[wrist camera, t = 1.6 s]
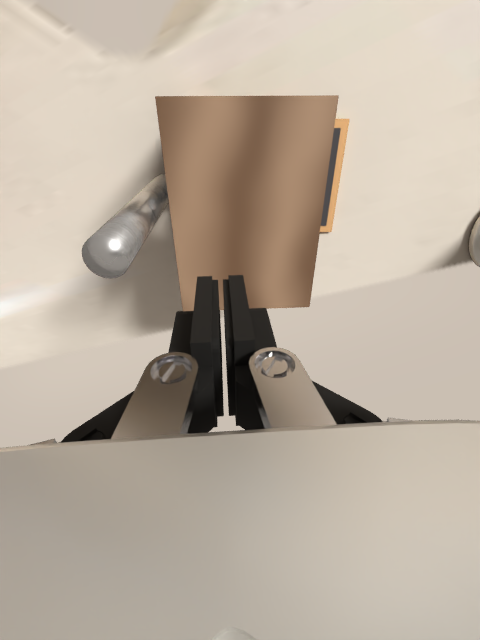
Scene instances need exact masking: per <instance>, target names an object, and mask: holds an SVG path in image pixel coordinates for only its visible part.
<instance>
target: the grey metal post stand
mask: <svg viewBox="0 0 480 640" xmlns="http://www.w3.org/2000/svg"><path fill="white" fill-rule="evenodd" d="M168 202H169V199H168V191H167V184H166V176H165V174H160V175H158V176H156V177H155V178H154V179H153V180H152V181H151V182H150V183H149V184H148V185H147V186H145V187H144V188H143V189H142V190H141V191H140V192H139V193H138V194H137V195H136V196H135V197H134V198H132V199H131V200H130V201H129V202H128V203H127V204H126V205H125V206H124V207H123V208H122V209H120V210H119V211H118V212H117V213H116V214H115V215H114V216H113V217H112V218H111V219H110V220H109V221H107V222H106V223H105V224H104V225H103V226H102V227H101V228H100V229H99V230H98V231H97V232H96V233H94V234H93V235H92V236H91V237H90V238H89V239H88V240H87V241H86V242H85V243H84V245H83V248H82V257H83V260H84V262H85V264H86V266H87V267H88V268H89V269H90V270H91V271H92V272H93V273H95V274H96V275H99V276H101V277H104V278H116V277H119V276H121V275H123V274H124V273H125V272H126V270H127V269H128V267H129V266H130V264H131V262H132V261H133V259H134V257H135V256H136V254H137V253H138V251H139V249H140V248H141V246H142V244H143V243H144V241H145V239H146V238H147V236H148V235H149V233H150V231H151V230H152V228H153V226H154V225H155V223H156V221H157V220H158V218H159V217H160V215H161V213H162V212H163V210H164V208H165V207H166V205H167V203H168Z"/></svg>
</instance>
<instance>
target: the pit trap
mask: <svg viewBox="0 0 480 640" xmlns="http://www.w3.org/2000/svg"><path fill="white" fill-rule="evenodd" d="M348 125H349V119H335V125H334V132H333V140H332V147H331V154H330V161H329V168H328V176H327V183H326V190H325V197H324V205H323V212H322V219H321V226H320V232H331V231H332V225H333V219H334V212H335V206H336V200H337V194H338V187H339V181H340V175H341V169H342V162H343V156H344V150H345V144H346V137H347V131H348Z"/></svg>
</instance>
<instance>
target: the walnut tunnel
mask: <svg viewBox="0 0 480 640" xmlns="http://www.w3.org/2000/svg"><path fill="white" fill-rule="evenodd" d="M155 99H156V106H157V114H158V122H159V130H160V137H161V145H162V153H163V161H164V168H165V176H166V184H167V191H168V199H169V207H170V215H171V222H172V230H173V238H174V245H175V253H176V261H177V269H178V276H179V284H180V292H181V299H182V307H183V311H194V302H195V292H196V283H197V276H212V280H218V288H219V307H220V310H224V297H223V279H228V275H243V277H244V283H245V288H246V294H247V299H248V305H249V308H294V307H309V306H310V298H311V291H312V284H313V277H314V270H315V262H316V255H317V248H318V241H319V233H320V226H321V219H322V212H323V205H324V197H325V190H326V183H327V176H328V168H329V161H330V154H331V147H332V140H333V132H334V125H335V118H336V111H337V103H338V96H157V97H155Z"/></svg>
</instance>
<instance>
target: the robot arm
mask: <svg viewBox="0 0 480 640" xmlns="http://www.w3.org/2000/svg"><path fill="white" fill-rule="evenodd" d="M469 252H470V256H471V258H472V260H473V262H474V263H475V264H476V265H477V266H479V267H480V216H479V217H478V219H477V220H476V222H475V225H474V227H473V229H472V232H471V235H470V239H469ZM223 297H224V321H225V341H226V342H225V343H226V362H227V363H226V365H227V384H228V406H229V416H233V415H235V417H236V426H241V427H242V428H244V429H245V430H240V431H224V432H210V433H208V432H209V431H210V430H211V429H212V428H213V427H217V416H223V415H224V413H223V381H222V350H221V349H222V348H221V329H220V328H221V327H220V307H219V288H218V280H212V276H197V283H196V292H195V302H194V311H178V312H177V313H176V317H175V322H174V327H173V332H172V338H171V343H170V348H169V353H166V354H162V355H160V356H158V357H156V358H155V359H153V360H152V361H151V362H150V363H149V364H148V365H147V367H146V368H145V370H144V373H143V374H142V376H141V378H140V381H139V383H138V385H137V387H136V389H135V391H133V392H132V393H130V394H129V395H127V396H126V397H124V398H122V399H121V400H119V401H118V402H116V403H115V404H113V405H112V406H110V407H109V408H107V409H105V410H104V411H103V412H101V413H99V414H98V415H96V416H95V417H93V418H92V419H90V420H88V421H87V422H85V423H84V424H82V425H81V426H79V427H78V428H76V429H75V430H73V431H72V432H71V433H69V434H68V435H67V436H66V437H65V438H64V439H63V440H62V441H61V442H58V443H57V442H56V441H55V439H51V440H47V441H43V442H40V443H36V444H31V445H27V446H16V447H6V448H0V640H480V421H471V420H421V421H420V420H419V421H411V420H403V419H395V418H388V419H387V422H386V421H382V420H381V419H380V418H378V417H377V416H376V415H374V414H373V413H371V412H370V411H368V410H366V409H364V408H362V407H361V406H359V405H357V404H355V403H353V402H351V401H349V400H347V399H345V398H344V397H342V396H340V395H338V394H336V393H334V392H332V391H330V390H328V389H327V388H325V387H323V386H321V385H319V384H317V383H315V382H313V381H311V379H310V377H309V376H308V374H307V372H306V371H305V369H304V367H303V365H302V364H301V362H300V360H299V359H298V358H297V356H296V355H295V354H293V353H292V352H290V351H288V350H285V349H283V348H277V346H276V342H275V339H274V335H273V331H272V328H271V324H270V320H269V317H268V313H267V310H266V308H249V305H248V299H247V294H246V288H245V283H244V277H243V275H228V279H223Z"/></svg>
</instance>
